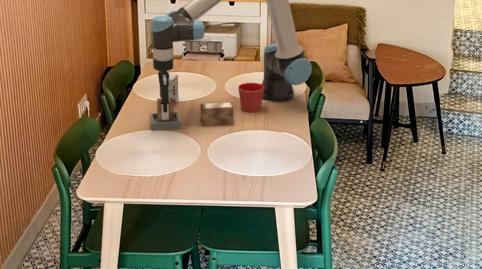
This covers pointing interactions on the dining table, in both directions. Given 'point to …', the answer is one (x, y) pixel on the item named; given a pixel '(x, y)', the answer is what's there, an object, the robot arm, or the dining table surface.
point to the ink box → (173, 87)
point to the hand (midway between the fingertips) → (164, 116)
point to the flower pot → (251, 96)
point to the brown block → (171, 109)
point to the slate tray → (165, 122)
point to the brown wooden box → (216, 114)
